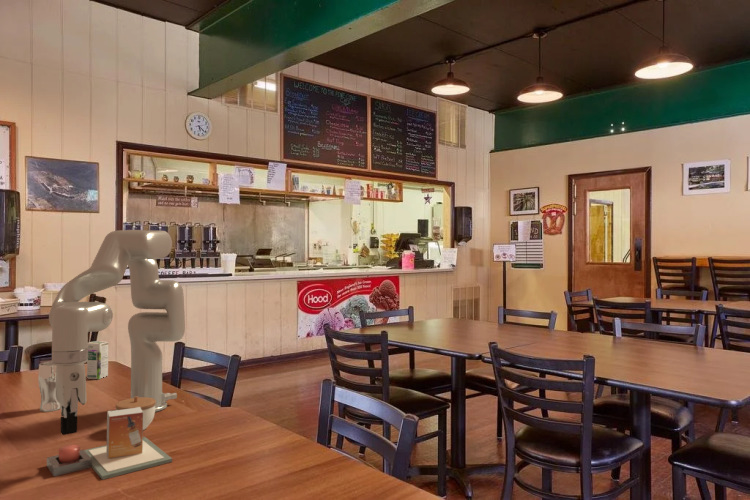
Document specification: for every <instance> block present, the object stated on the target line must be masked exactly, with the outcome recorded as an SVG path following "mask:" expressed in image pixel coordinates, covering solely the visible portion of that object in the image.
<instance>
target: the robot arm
mask: <svg viewBox="0 0 750 500" xmlns="http://www.w3.org/2000/svg"><path fill="white" fill-rule="evenodd" d="M172 239H173V238H172V237H171V235H170V234H169V232H167V231H165V230H155V229H154V230H150V229H148V230H145V229H122V230H121V229H120V230H113V231H110V232H109V233H107V234H106V235H105V237H104V239H103V241H102V243H101V245H100V247H99V249H98V251H97V253H96V255H95V257H94V260H93V261H92V263H91V266H90V267H89V268H87V269H86V270H84V271H82V272H81V273H79V274H77V275H76V276H74V278H72V279H71V280H69V281H68V282H66V283H65V284H64V285H63V286H62V287H61V288H60V290H59V291H58V293H57V295H56V297H55V299H54V301H53V302H52V304H51V307H50V310H49V313H48V314H49V315H48V322H49V325H50V327H51V329H52V331H51V332H52V333H51V361H52V365H55V366H56V399H57V401H58V402H59V403H60V404H61V409H60V415H61V416H60V433H61V435H62V436H65V435H66V436H67V435H72V434H75V433H77V432H78V408H79V406H78V405H79V404H81V405H82V406H84V405H86V403H87V374H86V367H85V364H86V363H87V359H88V343H89V342H88V341H89V333H90V332H91V333H92V332H101V331H104V330H105V329H108V327H109V326H110V324H111V323H112V321H113V315H114V314H113V310H112V308H111V307H110V306H109V305H108V304H106V303H104V302H100V301H99V302H98V301H81V300H83V299H84V298H85V297H87V296H90V295H93V294H95V293H99V292H101V291H103V290H106V289H110V288H112V287H114V286H117V285H118V284H120V282H122V280H123V278H124V275H125V272H126V270H127V268H128V269H129V270H128V271H129V281H130V284H129V285H130V296H131V303H132V305H133V306H134V307H135V308H137V309H140V310H164V311H166V312H159V311H149V312H148V311H143V312H138V313H135V314H133V315H132V316H131V317H130V318H129V319H128V323H127V332H128V336H129V343H130V398H134V397H135V396H138V397H147V398H153V399H155V400H156V404H155V413H156V412H160V411H162V410H164V409H166V408H167V407H168V400H175V399H177V398H178V394H177V392H172V393H170V392H163V351H162V349H161V347H160V346H159V345H158V343H157V342H160V343H161V342H165V343H166V342H170V343H171V342H178V341H181V339H183V338H184V335H185V330H186V317H185V316H186V314H185V295H184V290H183V286H182V284H181V283H180V282H178V281H177V280H169V279H167V280H166V279H165V280H164V279H160V277H159V276H160V275H159V266H158V263H157V260H159V259H163V258H166V257H168V256H169V255H170V253H171V250H172V249H173V241H172Z"/></svg>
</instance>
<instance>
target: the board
mask: <svg viewBox="0 0 750 500" xmlns="http://www.w3.org/2000/svg"><path fill="white" fill-rule="evenodd" d="M106 447H107V444H106V445H101V446H96V447H93V448H92V447H91V448H87V449H83V450H84V451H85V452H86V453H87V454H88V455H89V456H90V458H91V459H92V468H91V469H93V472H95V473H96V474H97V475H98V477H99V478H100V479H101V480H102V481H103V480H107V479H110V478H115V477H118V476H122V475H126V474H131V473H134V472H138V471H142V470H146V469H149V468H153V467H158V466H161V465H165V464H168V463H172V462H173V458H172V457H171V456H170V455H169V454H167V453H166V452H165V451H163V450H162V449H161V448H160V447H159V446H157V445H156V444H155V443H154V442H152V441H151V440H150V439H149V438H147V437H146V436H143V449H142V454H134V455H127V456H120V457H114V458H108V456H107V451H106Z"/></svg>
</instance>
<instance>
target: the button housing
mask: <svg viewBox="0 0 750 500" xmlns="http://www.w3.org/2000/svg"><path fill="white" fill-rule="evenodd" d="M84 450H85V449H80V459H79V460H76V461H72V462H67V463H60V462H59V454H57V455H52V456H49V457H46V466H47V469H48V470H49V472H50V473H51V475H52V476H53V477H58V476H63V475H65V474H69V473H74V472H77V471H82V470H88V469H93V468H92V459H91V458H90V456H89V455H88V454H87V453H86V452H85V451H84Z"/></svg>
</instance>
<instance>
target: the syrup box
mask: <svg viewBox="0 0 750 500" xmlns="http://www.w3.org/2000/svg"><path fill="white" fill-rule="evenodd" d="M86 363H87V364H86V379H87V378H88V379H87V380H89V379H90V380H102V379H104V378H107V377H108V376H109V341H100V340H95V341H90V342H88V359H87V362H86ZM106 376H107V377H106ZM103 377H104V378H103ZM101 378H102V379H101Z"/></svg>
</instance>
